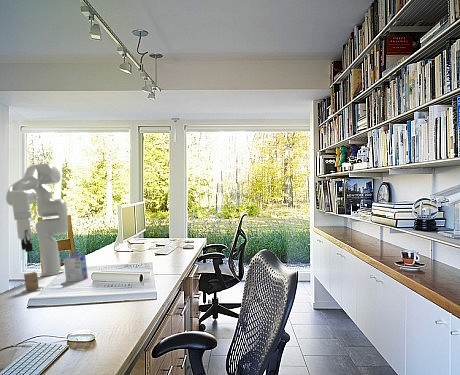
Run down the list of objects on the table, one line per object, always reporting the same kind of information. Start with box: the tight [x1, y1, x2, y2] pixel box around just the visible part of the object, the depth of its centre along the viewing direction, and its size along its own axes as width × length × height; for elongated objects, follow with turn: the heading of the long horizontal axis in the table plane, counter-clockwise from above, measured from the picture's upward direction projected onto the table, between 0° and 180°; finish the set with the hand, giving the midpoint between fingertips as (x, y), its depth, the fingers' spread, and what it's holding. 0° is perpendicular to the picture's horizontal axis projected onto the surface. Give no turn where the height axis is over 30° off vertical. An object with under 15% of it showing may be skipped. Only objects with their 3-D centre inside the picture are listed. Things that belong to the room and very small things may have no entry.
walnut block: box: [23, 271, 40, 292], centre depth 224 cm, size 5×5×8 cm
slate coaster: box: [20, 286, 44, 295], centre depth 223 cm, size 10×10×1 cm
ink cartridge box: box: [63, 251, 89, 283], centre depth 237 cm, size 10×6×14 cm, turn 78°
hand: (27, 250), depth 225 cm, fingers open, 9 cm apart
